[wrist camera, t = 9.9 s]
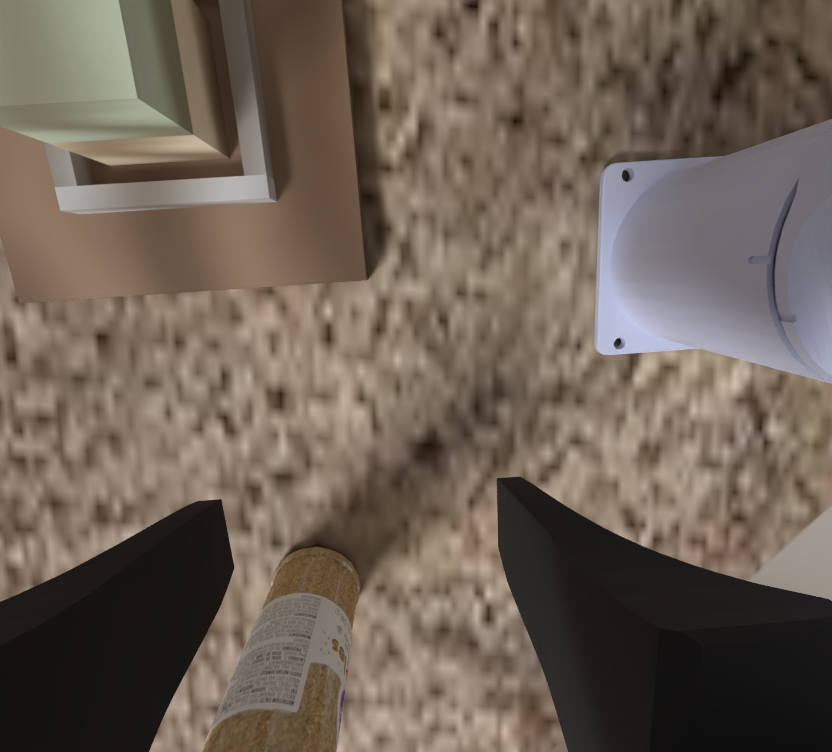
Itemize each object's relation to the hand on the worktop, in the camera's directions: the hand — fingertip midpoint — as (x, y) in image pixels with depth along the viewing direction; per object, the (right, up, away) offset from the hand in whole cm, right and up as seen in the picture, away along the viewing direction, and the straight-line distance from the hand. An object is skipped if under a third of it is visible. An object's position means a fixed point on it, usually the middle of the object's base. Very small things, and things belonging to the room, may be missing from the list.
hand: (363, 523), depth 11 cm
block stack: (-8, +14, +5) cm, 17 cm away
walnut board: (-8, +14, +6) cm, 18 cm away
